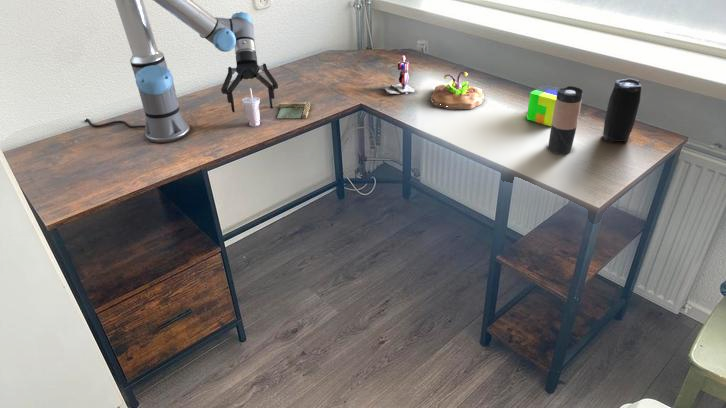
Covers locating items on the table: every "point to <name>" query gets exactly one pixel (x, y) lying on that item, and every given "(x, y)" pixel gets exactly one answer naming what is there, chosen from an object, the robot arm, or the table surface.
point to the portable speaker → (622, 110)
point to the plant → (457, 94)
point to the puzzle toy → (542, 104)
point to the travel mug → (565, 119)
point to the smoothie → (252, 109)
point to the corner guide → (293, 110)
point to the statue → (401, 80)
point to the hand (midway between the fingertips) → (252, 109)
